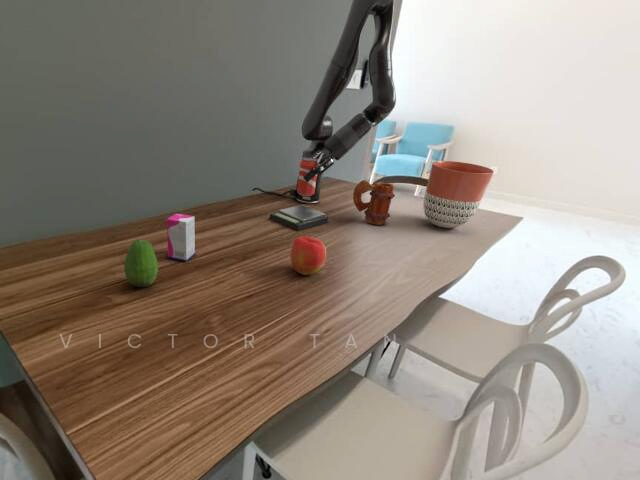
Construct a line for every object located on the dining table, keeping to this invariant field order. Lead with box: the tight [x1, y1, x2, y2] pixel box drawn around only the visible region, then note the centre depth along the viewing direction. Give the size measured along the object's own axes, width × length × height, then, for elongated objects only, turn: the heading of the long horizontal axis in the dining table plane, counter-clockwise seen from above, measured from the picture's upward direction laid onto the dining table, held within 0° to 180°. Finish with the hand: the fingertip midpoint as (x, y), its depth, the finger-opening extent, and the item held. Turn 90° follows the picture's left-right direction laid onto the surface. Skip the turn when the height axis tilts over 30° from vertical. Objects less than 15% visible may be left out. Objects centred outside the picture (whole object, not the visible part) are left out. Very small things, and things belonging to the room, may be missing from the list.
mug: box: [352, 179, 396, 226], centre depth 142 cm, size 15×8×15 cm, turn 84°
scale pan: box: [278, 204, 326, 222], centre depth 143 cm, size 12×12×1 cm
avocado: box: [123, 238, 159, 288], centre depth 93 cm, size 8×8×12 cm
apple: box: [290, 235, 327, 276], centre depth 104 cm, size 10×10×10 cm
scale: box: [269, 211, 329, 232], centre depth 143 cm, size 14×16×2 cm
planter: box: [422, 160, 495, 229], centre depth 142 cm, size 20×20×21 cm
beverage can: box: [296, 157, 317, 196], centre depth 136 cm, size 6×6×12 cm
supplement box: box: [166, 213, 196, 263], centre depth 108 cm, size 6×6×12 cm
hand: (302, 177), depth 136 cm, fingers closed on beverage can, 6 cm apart
